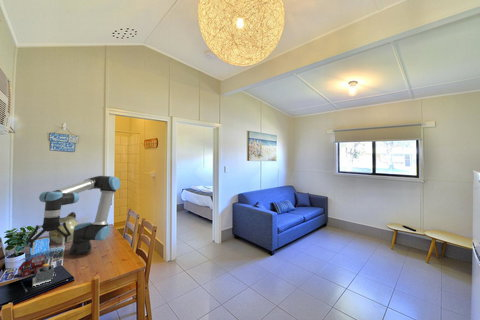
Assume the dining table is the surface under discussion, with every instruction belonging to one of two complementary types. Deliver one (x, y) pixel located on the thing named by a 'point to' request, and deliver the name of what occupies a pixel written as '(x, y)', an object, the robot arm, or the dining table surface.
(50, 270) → the link
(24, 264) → the toy fire truck
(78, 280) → the dining table surface
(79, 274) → the dining table surface
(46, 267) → the keeper
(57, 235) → the pitcher
